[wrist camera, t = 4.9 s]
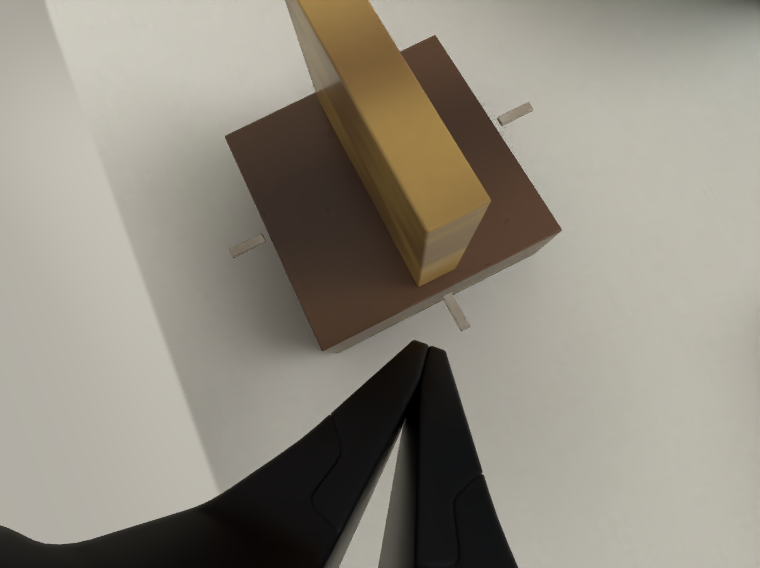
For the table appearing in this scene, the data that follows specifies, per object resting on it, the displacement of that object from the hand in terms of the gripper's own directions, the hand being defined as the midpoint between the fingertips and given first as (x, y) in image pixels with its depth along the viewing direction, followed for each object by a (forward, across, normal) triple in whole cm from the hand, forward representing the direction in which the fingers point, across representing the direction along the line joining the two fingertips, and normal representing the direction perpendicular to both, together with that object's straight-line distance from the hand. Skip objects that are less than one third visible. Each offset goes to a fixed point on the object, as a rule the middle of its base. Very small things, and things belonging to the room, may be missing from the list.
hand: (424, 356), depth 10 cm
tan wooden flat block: (+7, +3, -1) cm, 8 cm away
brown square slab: (+9, +4, +1) cm, 10 cm away
